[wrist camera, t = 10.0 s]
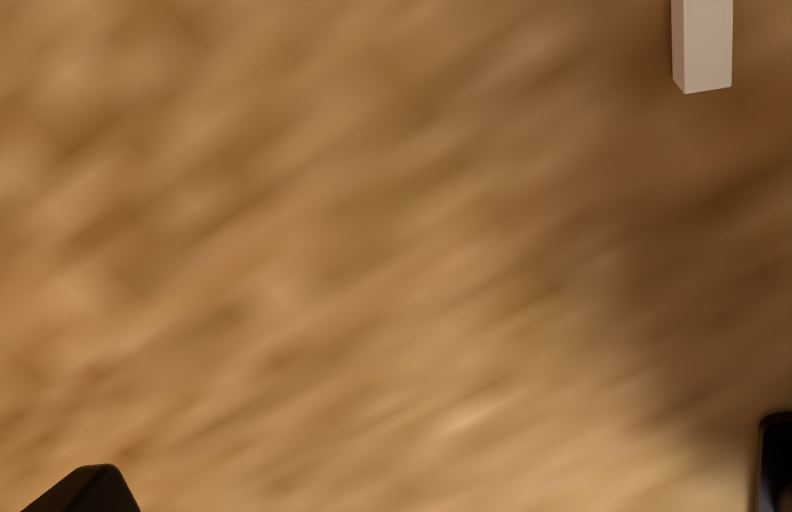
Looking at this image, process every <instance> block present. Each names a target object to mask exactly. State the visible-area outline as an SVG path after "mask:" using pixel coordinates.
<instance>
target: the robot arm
mask: <svg viewBox="0 0 792 512" xmlns="http://www.w3.org/2000/svg"><path fill="white" fill-rule="evenodd" d="M780 428H783V429H782V430H780V431H776V432H774V431H775V430H776V429H780ZM20 512H141V511H140V508H139V506H138V504H137V502H136V500H135V499H134V497H133V495H132V493H131V491H130V489H129V487H128V485H127V483H126V482H125V480H124V478H123V476H122V474H121V472H120V471H119V469H118V468H117V467H115V466H114V465H112V464H97V465H85V466H81V467H79V468H77V469H75V470H74V471H72V472H71V473H70V474H68V475H67V476H66V477H65V478H63V479H62V480H61V481H59V482H58V483H57V484H55V485H54V486H53V487H52V488H50V489H49V490H48V491H46V492H45V493H44V494H42V495H41V496H40V497H39V498H37V499H36V500H35V501H33V502H32V503H31V504H30V505H28V506H27V507H26V508H24V509H23V510H22V511H20ZM754 512H792V412H782V413H774V414H770V415H768V416H766V417H764V418H763V419H762V420H761V421H760V423H759V426H758V447H757V468H756V489H755V510H754Z"/></svg>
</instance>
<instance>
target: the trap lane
mask: <svg viewBox="0 0 792 512" xmlns="http://www.w3.org/2000/svg"><path fill="white" fill-rule="evenodd" d="M671 25H672V73H673V80H674V81H675V83H676V84H677V85H678V86H679V88H680V89H681V90H682V91H683V93H684V94H689V93H695V92H702V91H708V90H714V89H720V88H727V87H731V85H732V32H733V0H671Z"/></svg>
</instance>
